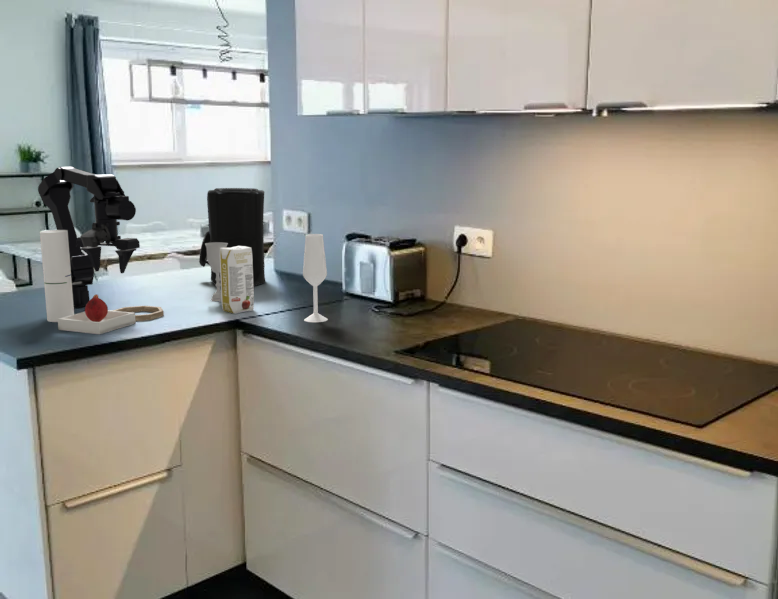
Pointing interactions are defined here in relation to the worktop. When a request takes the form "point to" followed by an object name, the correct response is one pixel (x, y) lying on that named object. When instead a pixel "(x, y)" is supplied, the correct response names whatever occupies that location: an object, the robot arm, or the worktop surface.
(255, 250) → the coffee maker
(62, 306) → the cylindrical container
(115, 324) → the tray
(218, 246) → the chalice
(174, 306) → the worktop surface
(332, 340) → the worktop surface
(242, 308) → the juice carton
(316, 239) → the champagne flute
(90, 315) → the onion
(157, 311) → the ring collar
